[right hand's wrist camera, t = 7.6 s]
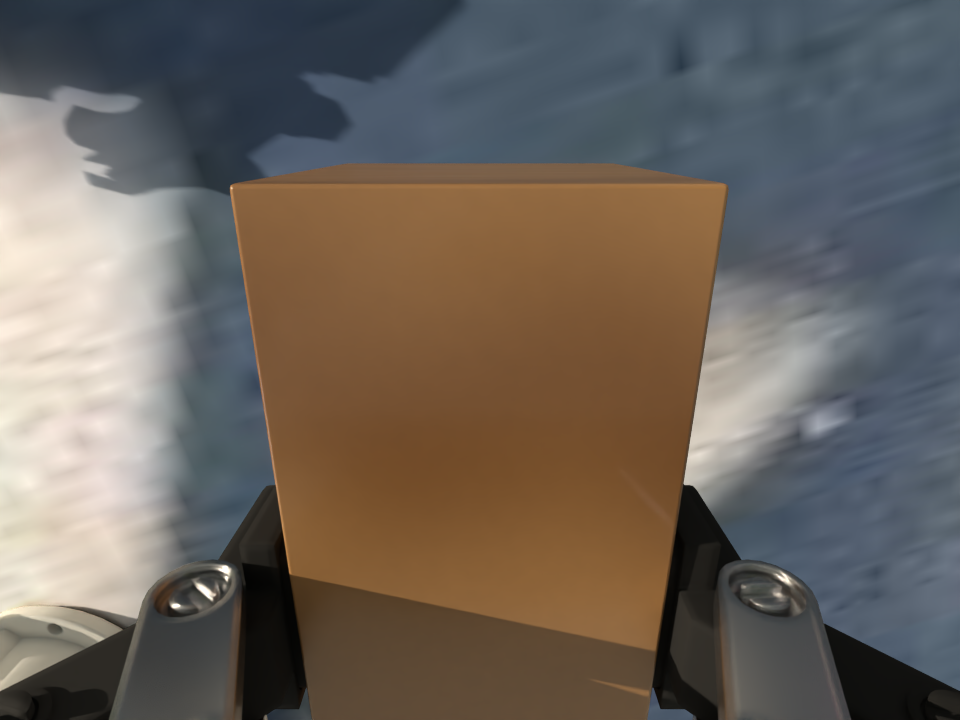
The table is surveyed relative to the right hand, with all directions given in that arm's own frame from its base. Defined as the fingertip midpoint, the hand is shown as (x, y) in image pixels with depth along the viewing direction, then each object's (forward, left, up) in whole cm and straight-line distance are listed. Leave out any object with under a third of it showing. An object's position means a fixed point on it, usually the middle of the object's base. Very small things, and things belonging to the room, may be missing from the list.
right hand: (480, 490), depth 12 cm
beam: (+21, -23, -2) cm, 31 cm away
